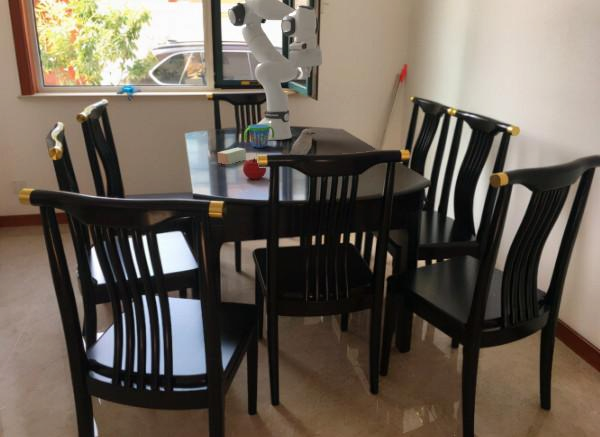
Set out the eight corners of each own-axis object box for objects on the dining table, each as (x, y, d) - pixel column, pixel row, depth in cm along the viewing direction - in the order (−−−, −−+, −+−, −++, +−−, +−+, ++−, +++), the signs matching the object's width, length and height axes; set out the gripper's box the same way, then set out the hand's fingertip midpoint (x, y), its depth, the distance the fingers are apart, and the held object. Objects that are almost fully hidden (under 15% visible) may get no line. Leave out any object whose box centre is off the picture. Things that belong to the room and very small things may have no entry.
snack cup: (270, 143, 257) (270, 122, 253) (278, 147, 248) (278, 126, 244) (241, 146, 251) (240, 125, 247) (248, 150, 242) (247, 128, 238)
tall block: (237, 158, 226) (218, 164, 217) (237, 147, 224) (217, 152, 215) (246, 160, 223) (226, 165, 214) (245, 148, 222) (225, 153, 213)
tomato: (269, 180, 192) (268, 159, 189) (246, 182, 189) (245, 161, 187) (262, 174, 200) (262, 154, 197) (240, 176, 197) (239, 156, 194)
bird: (313, 166, 210) (312, 130, 205) (284, 163, 216) (283, 128, 211) (318, 164, 214) (318, 128, 209) (289, 161, 220) (289, 126, 215)
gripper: (314, 44, 236) (314, 75, 240) (286, 45, 220) (287, 78, 225) (325, 44, 232) (325, 75, 237) (298, 45, 217) (298, 79, 221)
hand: (306, 77), depth 231 cm, fingers closed
